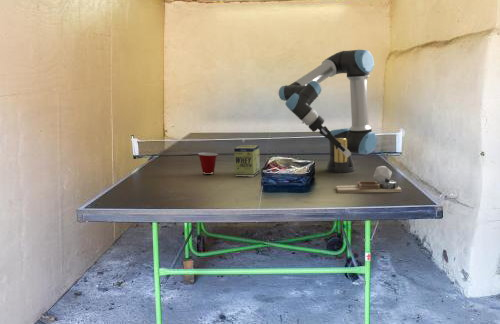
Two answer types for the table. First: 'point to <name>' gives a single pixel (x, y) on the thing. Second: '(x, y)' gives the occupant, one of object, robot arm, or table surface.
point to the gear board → (365, 188)
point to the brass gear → (338, 154)
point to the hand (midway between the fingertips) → (348, 154)
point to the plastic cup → (207, 161)
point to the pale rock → (382, 173)
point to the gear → (388, 184)
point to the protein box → (247, 160)
